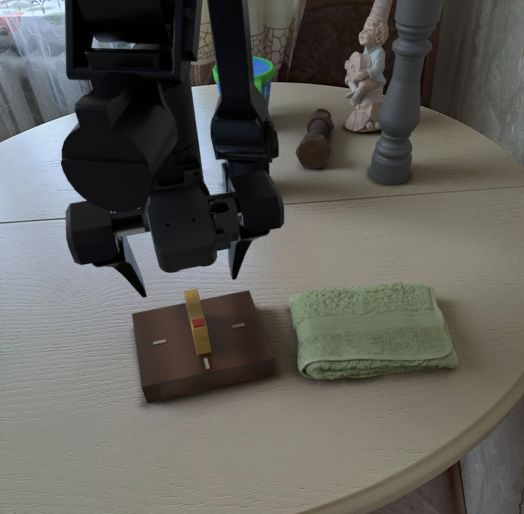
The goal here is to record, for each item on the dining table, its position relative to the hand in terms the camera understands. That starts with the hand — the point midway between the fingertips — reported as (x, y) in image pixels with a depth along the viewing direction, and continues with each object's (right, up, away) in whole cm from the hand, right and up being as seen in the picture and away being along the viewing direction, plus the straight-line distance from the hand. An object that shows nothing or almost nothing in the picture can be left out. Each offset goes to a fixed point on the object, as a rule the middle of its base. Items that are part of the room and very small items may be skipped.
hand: (189, 285), depth 51 cm
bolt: (+17, +29, +36) cm, 50 cm away
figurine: (+27, +35, +41) cm, 60 cm away
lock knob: (+1, -5, +4) cm, 6 cm away
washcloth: (+20, -5, +7) cm, 22 cm away
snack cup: (+4, +35, +43) cm, 56 cm away
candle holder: (+28, +22, +30) cm, 47 cm away
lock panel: (+1, -7, +6) cm, 9 cm away
